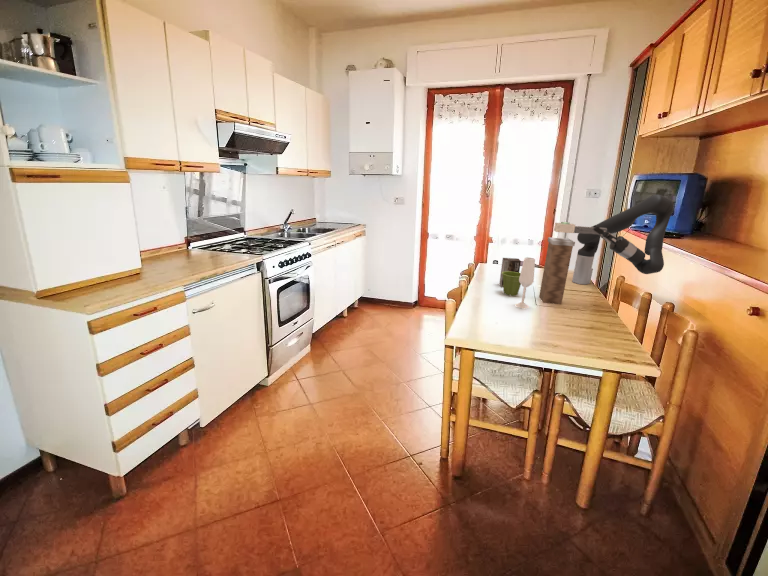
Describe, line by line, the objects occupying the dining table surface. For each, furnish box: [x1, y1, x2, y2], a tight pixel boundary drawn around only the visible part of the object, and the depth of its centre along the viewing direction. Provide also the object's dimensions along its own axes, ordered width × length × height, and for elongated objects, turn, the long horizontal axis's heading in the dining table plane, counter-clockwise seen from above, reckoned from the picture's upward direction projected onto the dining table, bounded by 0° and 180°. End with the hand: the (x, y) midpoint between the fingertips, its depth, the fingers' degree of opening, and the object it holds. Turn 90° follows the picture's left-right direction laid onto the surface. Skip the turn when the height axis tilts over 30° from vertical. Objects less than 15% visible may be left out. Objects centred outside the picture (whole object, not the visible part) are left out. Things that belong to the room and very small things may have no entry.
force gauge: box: [553, 221, 607, 235], centre depth 186 cm, size 23×5×5 cm, turn 81°
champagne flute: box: [514, 256, 536, 309], centre depth 184 cm, size 7×7×24 cm
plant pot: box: [502, 271, 522, 297], centre depth 205 cm, size 12×12×11 cm
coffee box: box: [498, 257, 522, 288], centre depth 218 cm, size 9×6×16 cm
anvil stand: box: [538, 237, 576, 305], centre depth 193 cm, size 10×10×32 cm
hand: (594, 227), depth 185 cm, fingers closed on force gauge, 3 cm apart
